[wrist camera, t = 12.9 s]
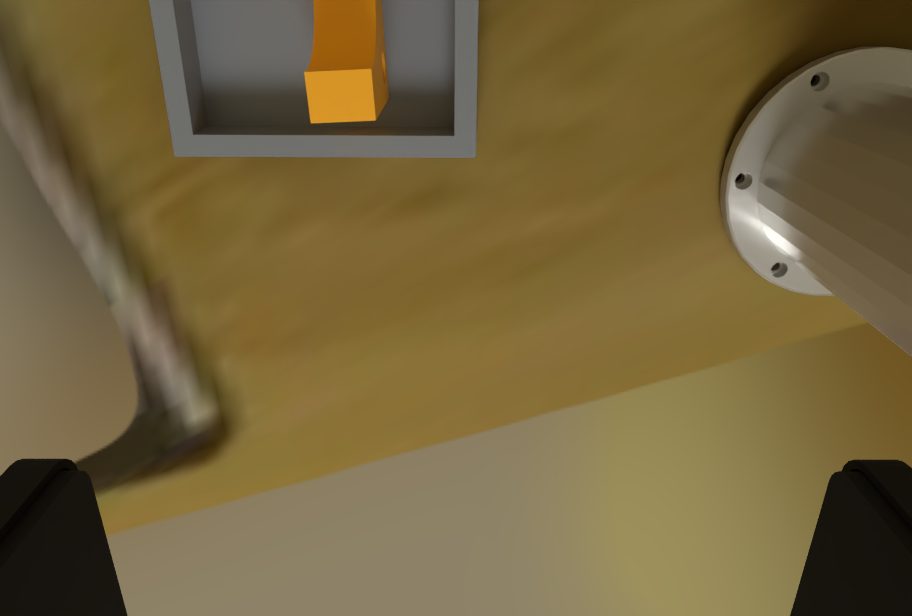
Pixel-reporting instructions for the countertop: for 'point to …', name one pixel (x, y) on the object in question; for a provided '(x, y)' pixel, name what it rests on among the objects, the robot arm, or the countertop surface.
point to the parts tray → (284, 89)
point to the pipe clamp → (347, 62)
